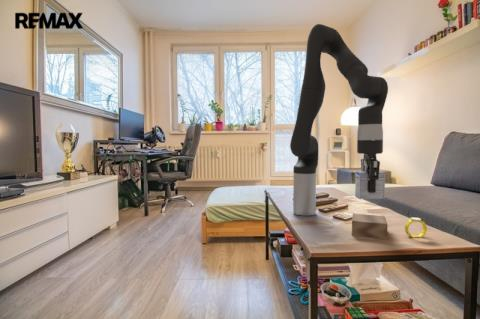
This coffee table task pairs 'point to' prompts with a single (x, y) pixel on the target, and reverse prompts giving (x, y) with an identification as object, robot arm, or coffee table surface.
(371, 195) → the medicine box
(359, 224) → the walnut block
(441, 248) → the coffee table surface
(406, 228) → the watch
